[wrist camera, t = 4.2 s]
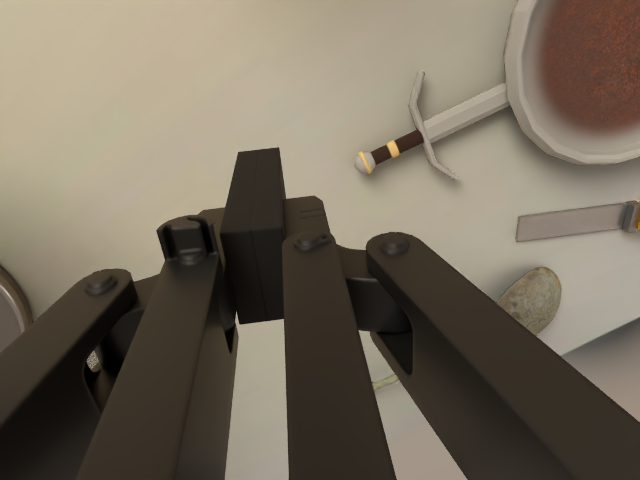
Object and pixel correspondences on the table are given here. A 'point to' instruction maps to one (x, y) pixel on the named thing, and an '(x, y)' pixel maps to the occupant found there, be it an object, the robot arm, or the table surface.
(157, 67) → the table surface
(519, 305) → the soupspoon
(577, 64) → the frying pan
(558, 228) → the knife
